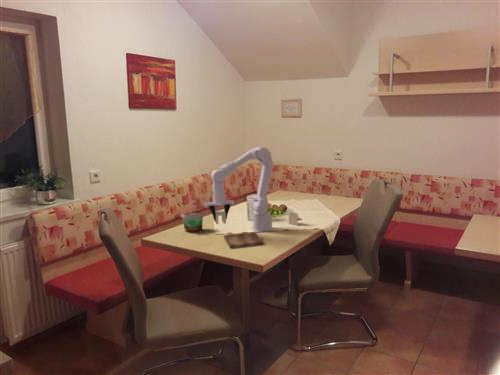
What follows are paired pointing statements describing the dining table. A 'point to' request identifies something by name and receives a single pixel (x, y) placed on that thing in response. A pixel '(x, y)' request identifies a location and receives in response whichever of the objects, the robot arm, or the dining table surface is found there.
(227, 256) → the dining table surface
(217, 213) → the pale slotted block
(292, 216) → the architectural model
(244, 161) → the robot arm
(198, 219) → the food container
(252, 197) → the syrup box
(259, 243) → the serving board
